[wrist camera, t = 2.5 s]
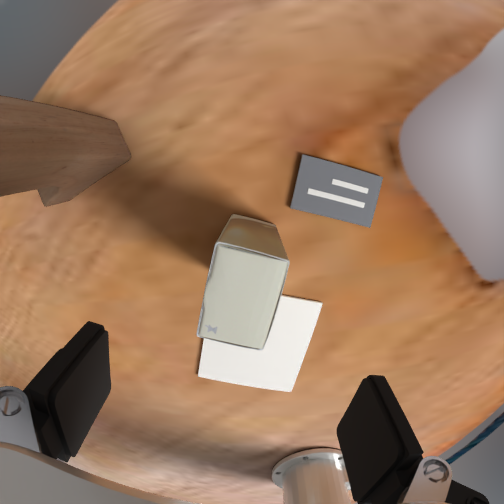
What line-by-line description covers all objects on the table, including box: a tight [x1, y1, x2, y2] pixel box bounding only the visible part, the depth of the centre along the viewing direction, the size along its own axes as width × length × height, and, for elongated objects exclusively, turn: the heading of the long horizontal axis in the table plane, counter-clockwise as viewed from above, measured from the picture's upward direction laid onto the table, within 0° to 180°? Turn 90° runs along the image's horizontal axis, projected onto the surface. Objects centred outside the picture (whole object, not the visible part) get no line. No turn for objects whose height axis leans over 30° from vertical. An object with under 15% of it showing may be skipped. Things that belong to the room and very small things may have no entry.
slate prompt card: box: [290, 155, 383, 228], centre depth 27 cm, size 8×5×1 cm, turn 78°
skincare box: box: [197, 214, 289, 350], centre depth 23 cm, size 6×4×12 cm
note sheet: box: [198, 295, 323, 392], centre depth 32 cm, size 11×12×1 cm
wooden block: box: [0, 95, 131, 207], centre depth 18 cm, size 9×4×18 cm, turn 115°
